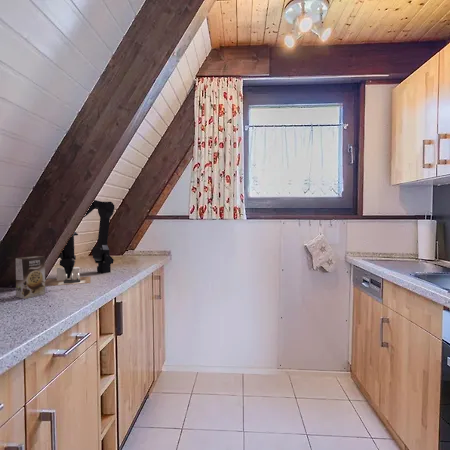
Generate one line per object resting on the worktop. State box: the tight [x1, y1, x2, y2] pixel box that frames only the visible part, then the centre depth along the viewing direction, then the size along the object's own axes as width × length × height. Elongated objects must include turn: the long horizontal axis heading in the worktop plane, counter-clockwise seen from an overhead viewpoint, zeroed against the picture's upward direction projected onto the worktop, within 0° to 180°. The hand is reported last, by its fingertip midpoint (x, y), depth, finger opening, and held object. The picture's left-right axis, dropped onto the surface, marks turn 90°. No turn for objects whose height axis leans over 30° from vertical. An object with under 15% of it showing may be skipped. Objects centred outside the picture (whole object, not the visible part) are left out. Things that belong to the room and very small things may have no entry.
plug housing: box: [56, 266, 81, 281], centre depth 172 cm, size 10×5×5 cm, turn 111°
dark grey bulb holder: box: [64, 273, 80, 283], centre depth 164 cm, size 7×2×4 cm, turn 111°
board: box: [45, 276, 92, 287], centre depth 168 cm, size 20×16×2 cm
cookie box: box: [15, 255, 46, 300], centre depth 146 cm, size 9×6×16 cm
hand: (68, 277), depth 172 cm, fingers closed on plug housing, 5 cm apart
